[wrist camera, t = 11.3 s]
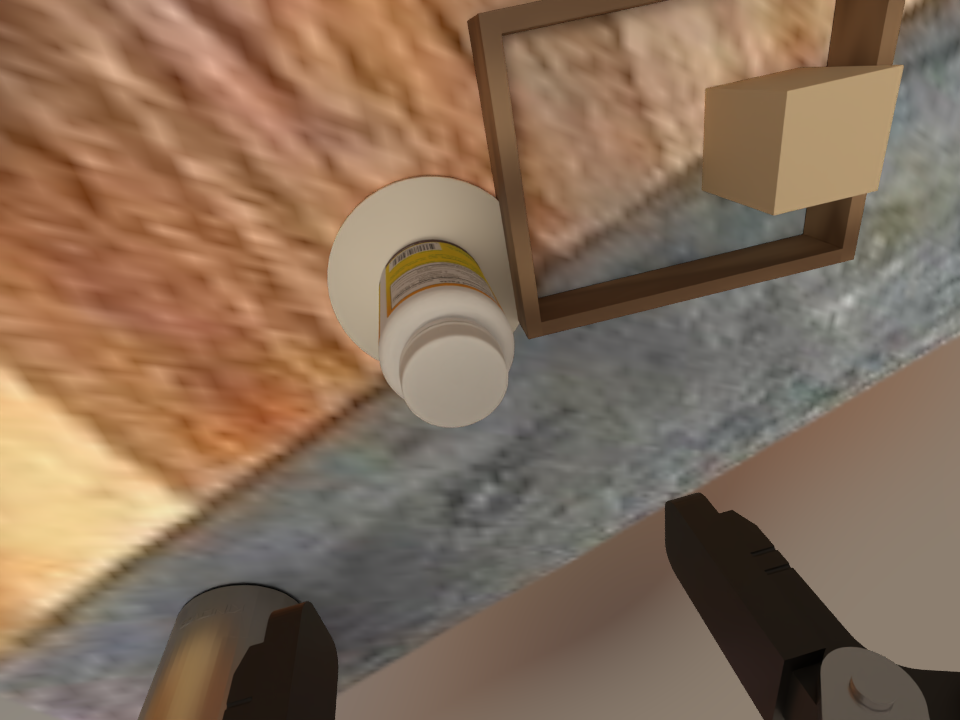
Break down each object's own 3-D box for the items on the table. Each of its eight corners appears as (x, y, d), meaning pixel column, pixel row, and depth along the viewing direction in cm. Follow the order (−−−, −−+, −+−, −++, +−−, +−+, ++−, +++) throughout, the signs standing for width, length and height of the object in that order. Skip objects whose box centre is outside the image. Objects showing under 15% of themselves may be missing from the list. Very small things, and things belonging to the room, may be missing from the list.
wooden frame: (813, 244, 31) (853, 259, 28) (515, 316, 30) (528, 339, 27) (861, -62, 23) (921, -80, 21) (467, 21, 22) (478, 13, 20)
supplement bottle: (450, 348, 29) (480, 464, 20) (360, 306, 27) (350, 416, 18) (502, 265, 27) (559, 354, 18) (409, 214, 25) (424, 287, 16)
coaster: (541, 343, 31) (544, 348, 30) (364, 387, 30) (363, 392, 30) (515, 153, 25) (517, 154, 25) (296, 202, 25) (295, 205, 24)
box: (786, 170, 28) (877, 190, 23) (701, 189, 28) (773, 215, 23) (798, 67, 26) (903, 65, 20) (705, 88, 25) (787, 91, 20)
